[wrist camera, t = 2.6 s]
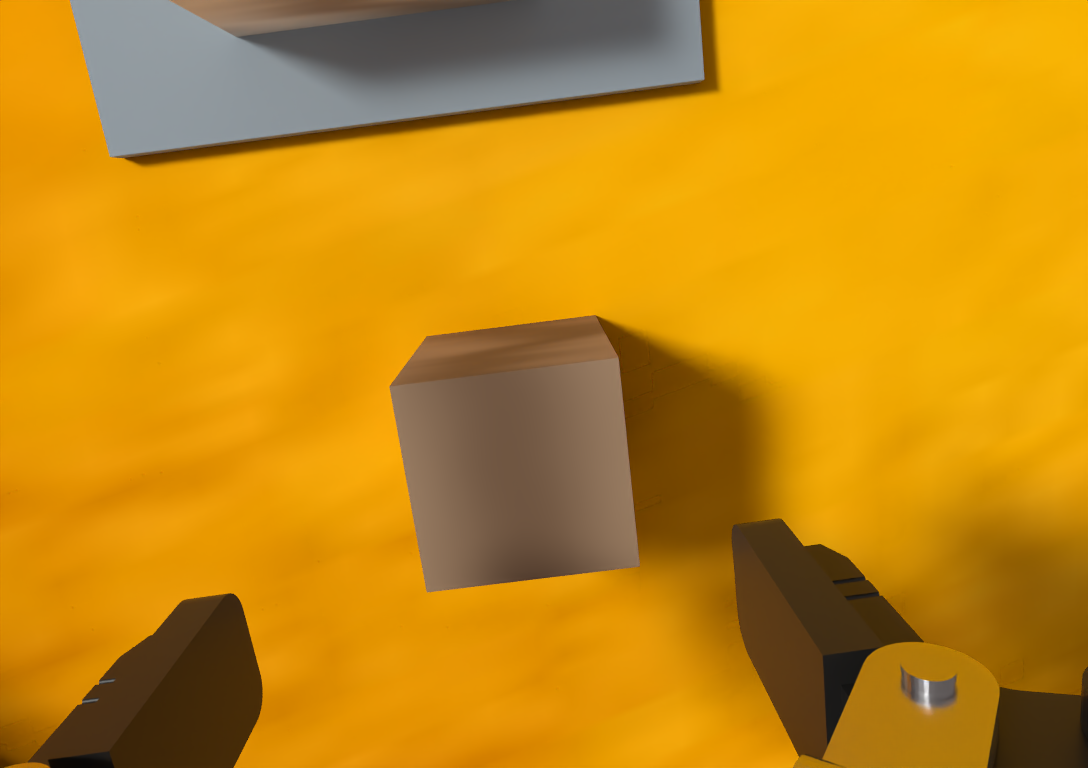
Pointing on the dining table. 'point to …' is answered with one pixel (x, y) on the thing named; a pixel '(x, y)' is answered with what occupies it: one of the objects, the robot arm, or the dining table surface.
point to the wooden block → (307, 12)
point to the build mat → (368, 66)
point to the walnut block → (516, 454)
